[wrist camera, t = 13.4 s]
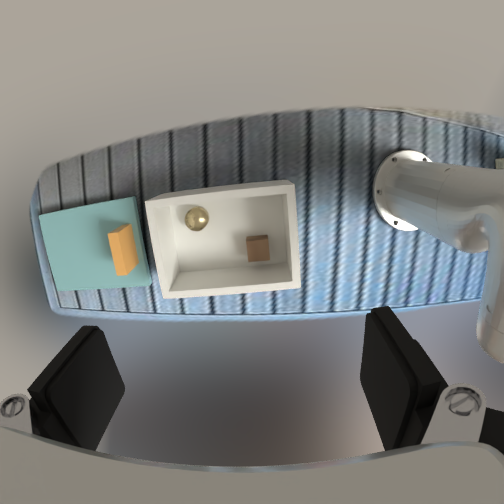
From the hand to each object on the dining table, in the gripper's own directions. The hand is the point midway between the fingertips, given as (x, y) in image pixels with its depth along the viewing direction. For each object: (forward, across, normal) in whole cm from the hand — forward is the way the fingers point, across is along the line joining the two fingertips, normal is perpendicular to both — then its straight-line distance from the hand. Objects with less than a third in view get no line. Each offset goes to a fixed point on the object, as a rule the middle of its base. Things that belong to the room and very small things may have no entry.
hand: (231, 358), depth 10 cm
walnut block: (+34, 0, +6) cm, 35 cm away
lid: (+35, +26, +4) cm, 44 cm away
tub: (+35, +4, +4) cm, 36 cm away
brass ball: (+34, +8, +1) cm, 35 cm away
